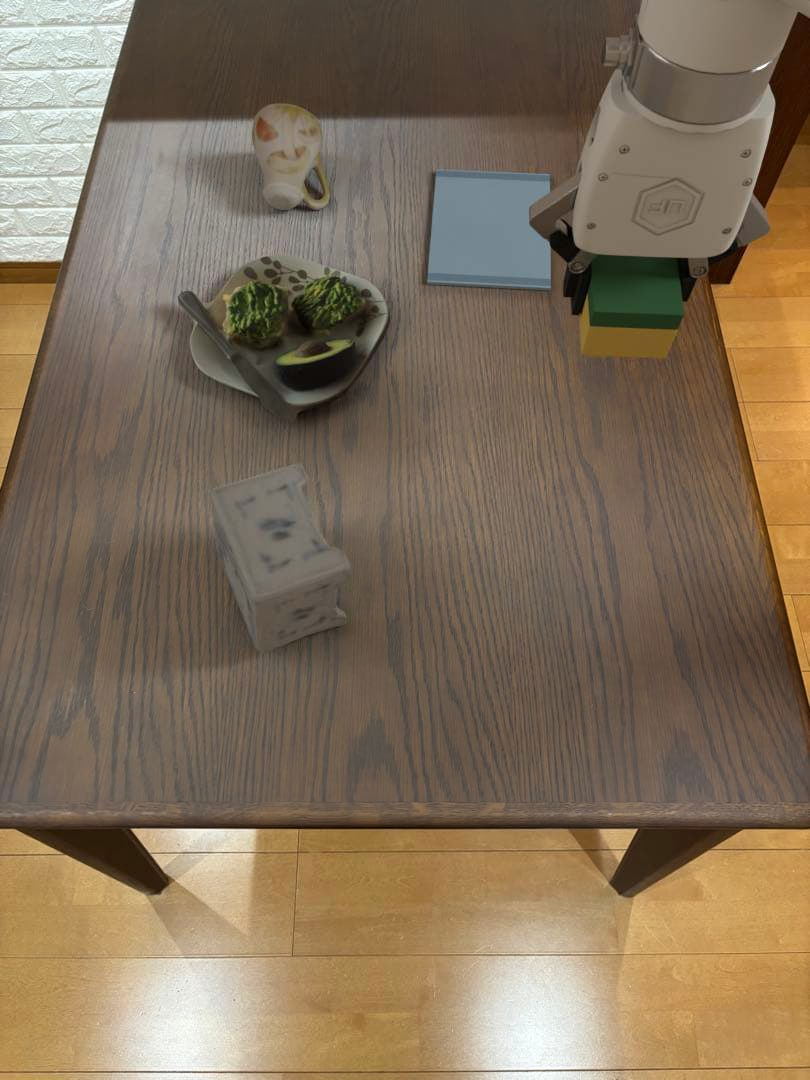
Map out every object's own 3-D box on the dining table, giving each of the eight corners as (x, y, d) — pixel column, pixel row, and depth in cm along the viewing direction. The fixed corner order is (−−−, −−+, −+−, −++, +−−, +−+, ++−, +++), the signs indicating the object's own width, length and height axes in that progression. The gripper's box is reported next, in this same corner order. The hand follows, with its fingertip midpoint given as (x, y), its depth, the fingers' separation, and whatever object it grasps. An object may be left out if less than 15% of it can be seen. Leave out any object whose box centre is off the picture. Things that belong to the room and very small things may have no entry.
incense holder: (361, 619, 65) (352, 562, 55) (261, 662, 63) (235, 611, 54) (313, 519, 69) (298, 450, 59) (218, 557, 67) (188, 493, 58)
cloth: (549, 177, 87) (550, 173, 87) (550, 291, 80) (550, 287, 80) (436, 172, 88) (436, 168, 87) (426, 284, 80) (427, 281, 80)
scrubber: (575, 262, 63) (587, 214, 59) (655, 265, 63) (672, 217, 59) (580, 355, 59) (593, 311, 55) (665, 358, 59) (684, 314, 55)
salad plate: (135, 368, 76) (119, 334, 72) (237, 242, 83) (228, 204, 79) (318, 446, 72) (313, 415, 68) (409, 306, 79) (409, 270, 75)
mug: (251, 225, 84) (222, 118, 79) (282, 201, 92) (258, 102, 87) (319, 216, 82) (294, 105, 77) (345, 192, 90) (324, 90, 84)
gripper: (538, 104, 43) (502, 338, 59) (877, 115, 42) (747, 347, 58) (535, 16, 46) (502, 260, 62) (849, 25, 45) (734, 268, 62)
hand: (621, 300), depth 60 cm, fingers closed on scrubber, 6 cm apart
